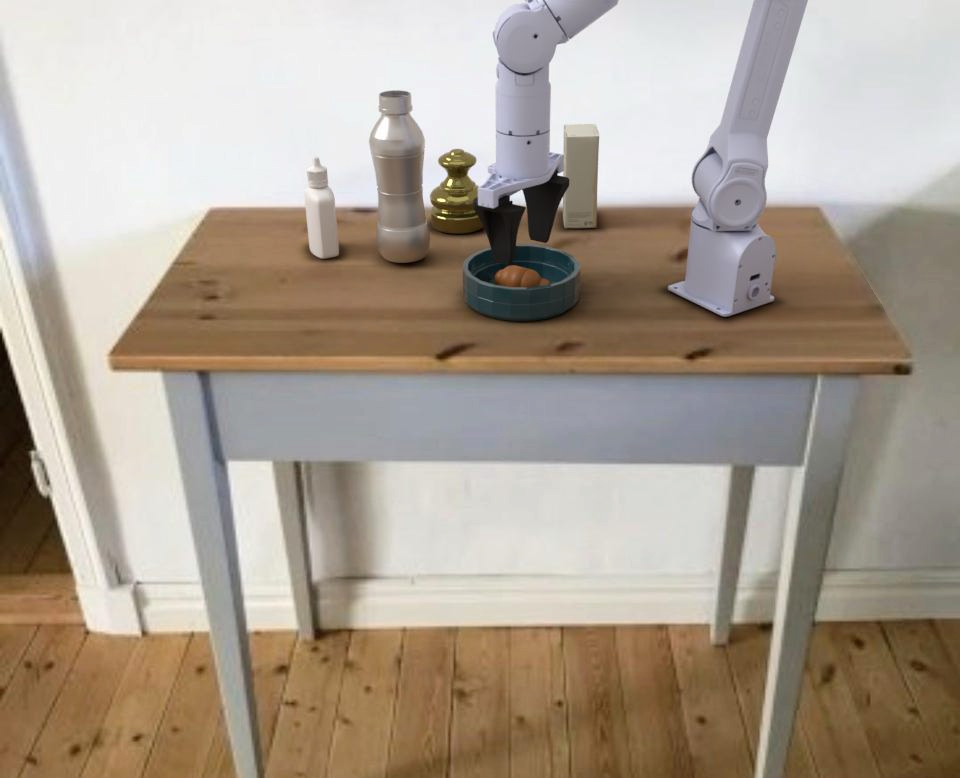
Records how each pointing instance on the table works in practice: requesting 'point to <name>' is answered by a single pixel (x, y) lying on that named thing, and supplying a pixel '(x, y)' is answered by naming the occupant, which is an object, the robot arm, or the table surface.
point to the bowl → (522, 300)
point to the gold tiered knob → (455, 195)
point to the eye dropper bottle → (321, 213)
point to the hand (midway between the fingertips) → (521, 251)
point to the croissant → (519, 277)
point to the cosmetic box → (580, 175)
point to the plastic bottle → (399, 180)
